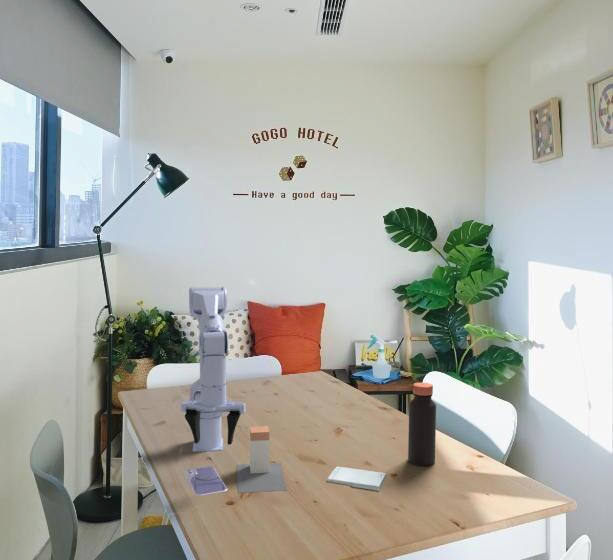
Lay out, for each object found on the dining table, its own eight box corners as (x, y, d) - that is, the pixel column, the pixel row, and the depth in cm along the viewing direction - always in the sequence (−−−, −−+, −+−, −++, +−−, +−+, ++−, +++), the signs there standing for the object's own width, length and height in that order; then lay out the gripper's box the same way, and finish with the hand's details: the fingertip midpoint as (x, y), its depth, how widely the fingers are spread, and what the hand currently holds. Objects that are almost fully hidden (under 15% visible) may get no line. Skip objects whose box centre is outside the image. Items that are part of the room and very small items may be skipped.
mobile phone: (195, 495, 122) (182, 469, 136) (195, 499, 122) (182, 473, 136) (229, 489, 125) (213, 464, 139) (229, 493, 125) (213, 468, 139)
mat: (236, 466, 140) (236, 464, 140) (280, 463, 141) (280, 462, 141) (237, 494, 124) (237, 492, 124) (287, 491, 126) (287, 490, 126)
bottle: (423, 454, 148) (425, 380, 147) (440, 463, 142) (442, 386, 141) (402, 458, 145) (404, 383, 144) (419, 468, 139) (420, 389, 138)
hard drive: (386, 472, 134) (336, 465, 138) (379, 486, 126) (327, 478, 130) (386, 479, 134) (336, 471, 138) (379, 493, 126) (326, 485, 130)
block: (249, 466, 139) (249, 426, 138) (267, 465, 140) (267, 426, 139) (250, 473, 135) (250, 432, 134) (269, 472, 135) (269, 432, 135)
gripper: (176, 387, 124) (177, 447, 125) (241, 389, 123) (241, 449, 124) (186, 380, 131) (186, 436, 132) (247, 381, 130) (247, 438, 131)
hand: (213, 442), depth 128 cm, fingers open, 7 cm apart
